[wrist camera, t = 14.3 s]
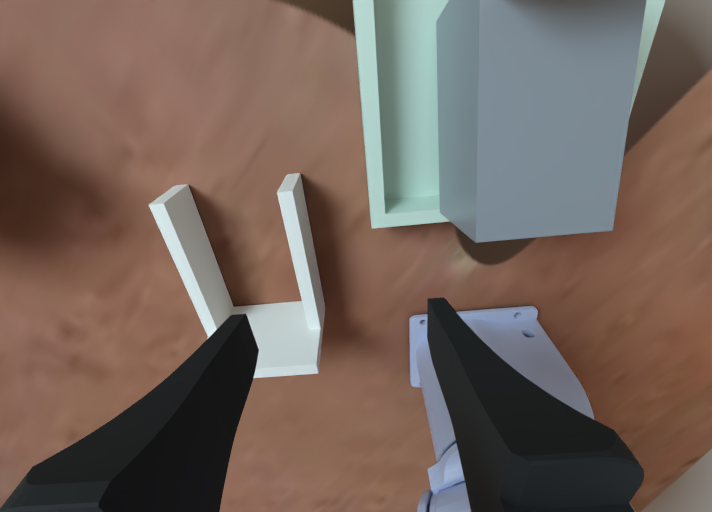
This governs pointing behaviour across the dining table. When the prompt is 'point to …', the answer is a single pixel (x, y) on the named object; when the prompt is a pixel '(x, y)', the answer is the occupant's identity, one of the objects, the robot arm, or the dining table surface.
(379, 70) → the tray
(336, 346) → the dining table surface
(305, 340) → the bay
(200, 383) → the robot arm
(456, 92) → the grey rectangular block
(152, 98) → the dining table surface
